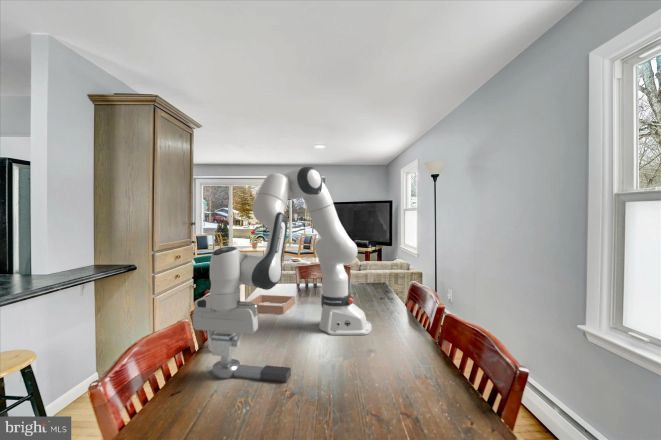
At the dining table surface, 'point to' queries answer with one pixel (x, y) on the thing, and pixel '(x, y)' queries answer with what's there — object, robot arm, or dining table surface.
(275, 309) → the tray
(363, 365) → the dining table surface
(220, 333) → the pale grey cube
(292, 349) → the dining table surface
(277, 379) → the ratchet
